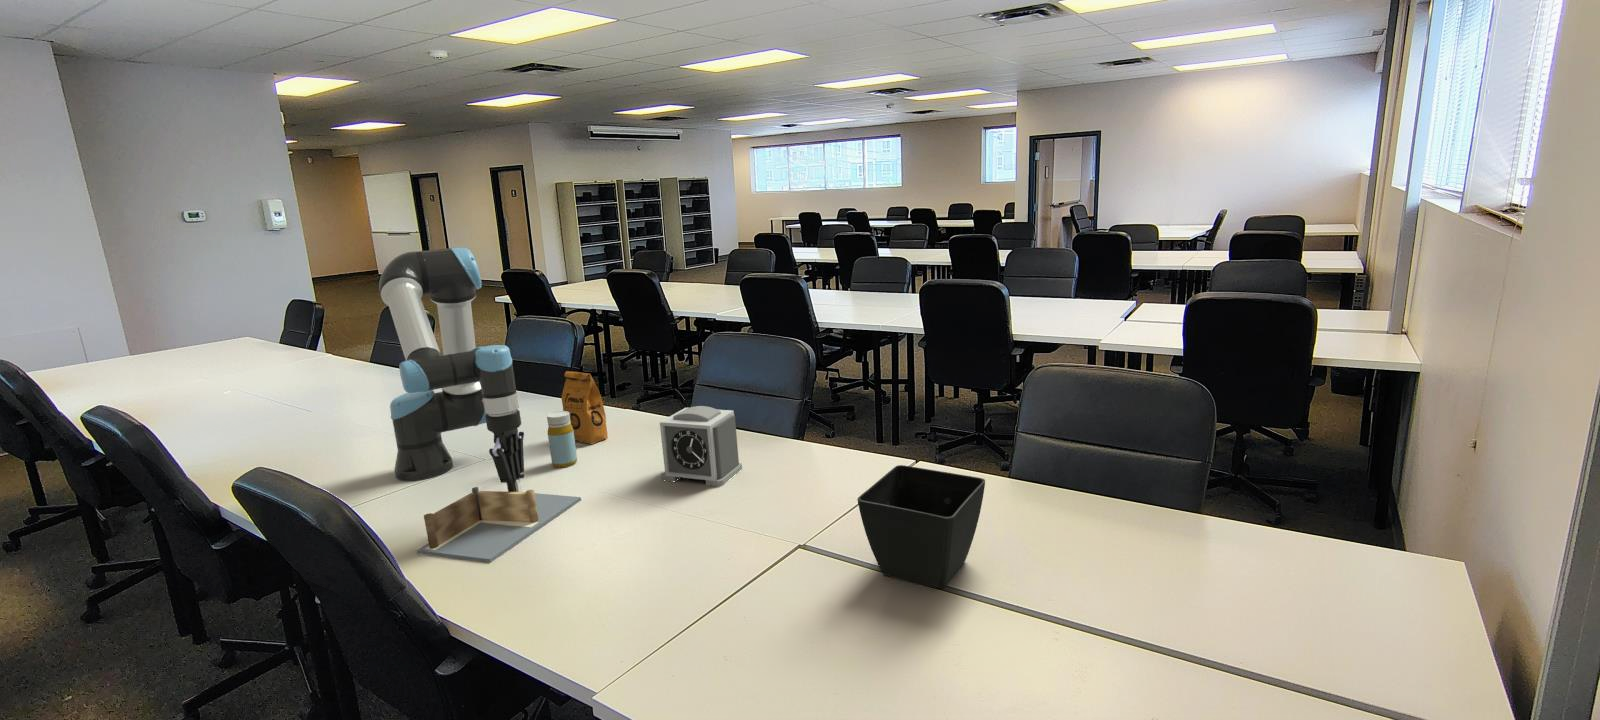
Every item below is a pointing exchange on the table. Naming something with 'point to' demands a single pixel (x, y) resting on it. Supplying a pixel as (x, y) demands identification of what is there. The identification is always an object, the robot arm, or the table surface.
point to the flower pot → (921, 522)
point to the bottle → (561, 439)
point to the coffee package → (584, 407)
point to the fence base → (452, 519)
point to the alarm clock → (700, 445)
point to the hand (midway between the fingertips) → (517, 505)
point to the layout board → (500, 532)
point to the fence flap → (508, 505)
